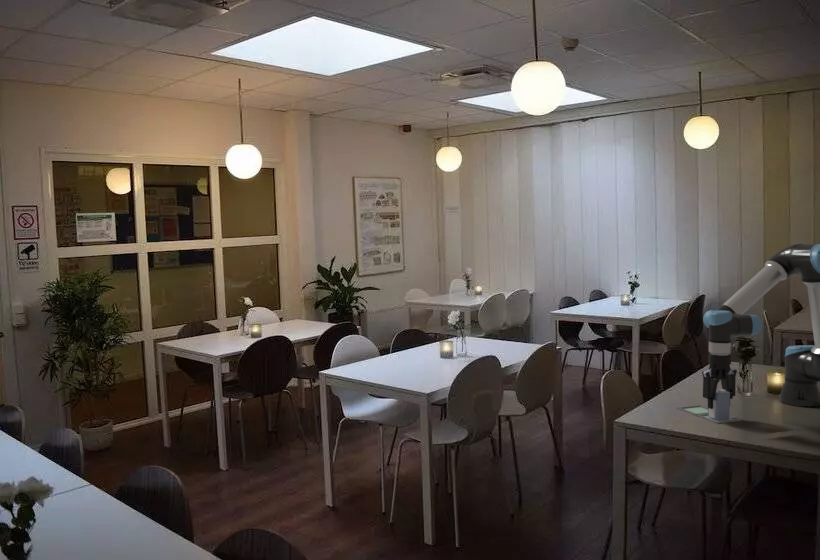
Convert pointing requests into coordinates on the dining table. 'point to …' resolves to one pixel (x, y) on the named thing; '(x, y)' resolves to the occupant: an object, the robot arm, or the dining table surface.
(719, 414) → the blue rectangular block
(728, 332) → the robot arm
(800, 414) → the dining table surface
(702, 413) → the dock
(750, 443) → the dining table surface
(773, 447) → the dining table surface
